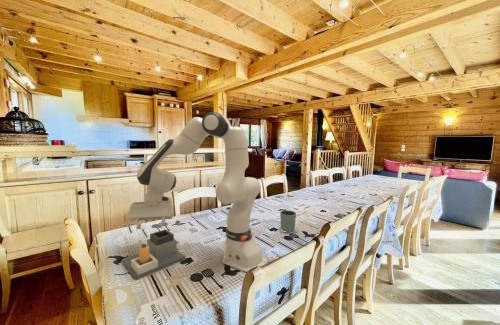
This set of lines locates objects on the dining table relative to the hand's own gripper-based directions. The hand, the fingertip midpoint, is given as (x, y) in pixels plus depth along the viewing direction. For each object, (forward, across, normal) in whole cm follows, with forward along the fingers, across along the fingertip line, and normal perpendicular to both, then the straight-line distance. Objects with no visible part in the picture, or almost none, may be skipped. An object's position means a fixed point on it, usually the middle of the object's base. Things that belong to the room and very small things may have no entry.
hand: (149, 227), depth 100 cm
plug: (+16, 0, +3) cm, 16 cm away
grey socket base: (+12, +3, +9) cm, 15 cm away
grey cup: (-4, +78, +26) cm, 83 cm away
